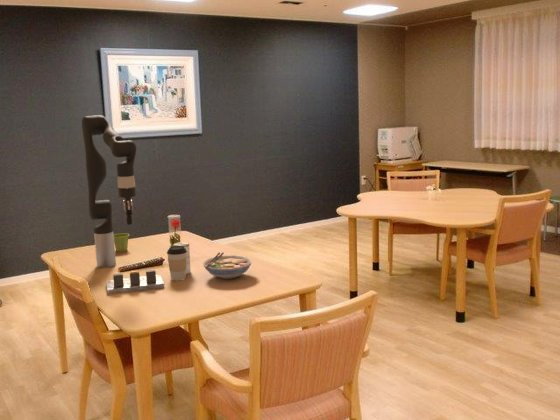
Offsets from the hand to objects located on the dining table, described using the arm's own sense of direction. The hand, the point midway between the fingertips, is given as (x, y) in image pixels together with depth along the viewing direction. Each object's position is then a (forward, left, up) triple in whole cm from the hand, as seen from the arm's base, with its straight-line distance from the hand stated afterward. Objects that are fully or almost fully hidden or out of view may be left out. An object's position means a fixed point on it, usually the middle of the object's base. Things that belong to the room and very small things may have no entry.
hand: (129, 224), depth 265 cm
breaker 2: (+10, +7, -25) cm, 28 cm away
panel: (+7, 0, -27) cm, 28 cm away
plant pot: (-62, -2, -27) cm, 68 cm away
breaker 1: (+10, -7, -25) cm, 28 cm away
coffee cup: (+2, +20, -27) cm, 34 cm away
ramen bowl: (+9, +42, -27) cm, 51 cm away
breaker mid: (+10, 0, -25) cm, 27 cm away
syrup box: (-5, +23, -27) cm, 36 cm away
